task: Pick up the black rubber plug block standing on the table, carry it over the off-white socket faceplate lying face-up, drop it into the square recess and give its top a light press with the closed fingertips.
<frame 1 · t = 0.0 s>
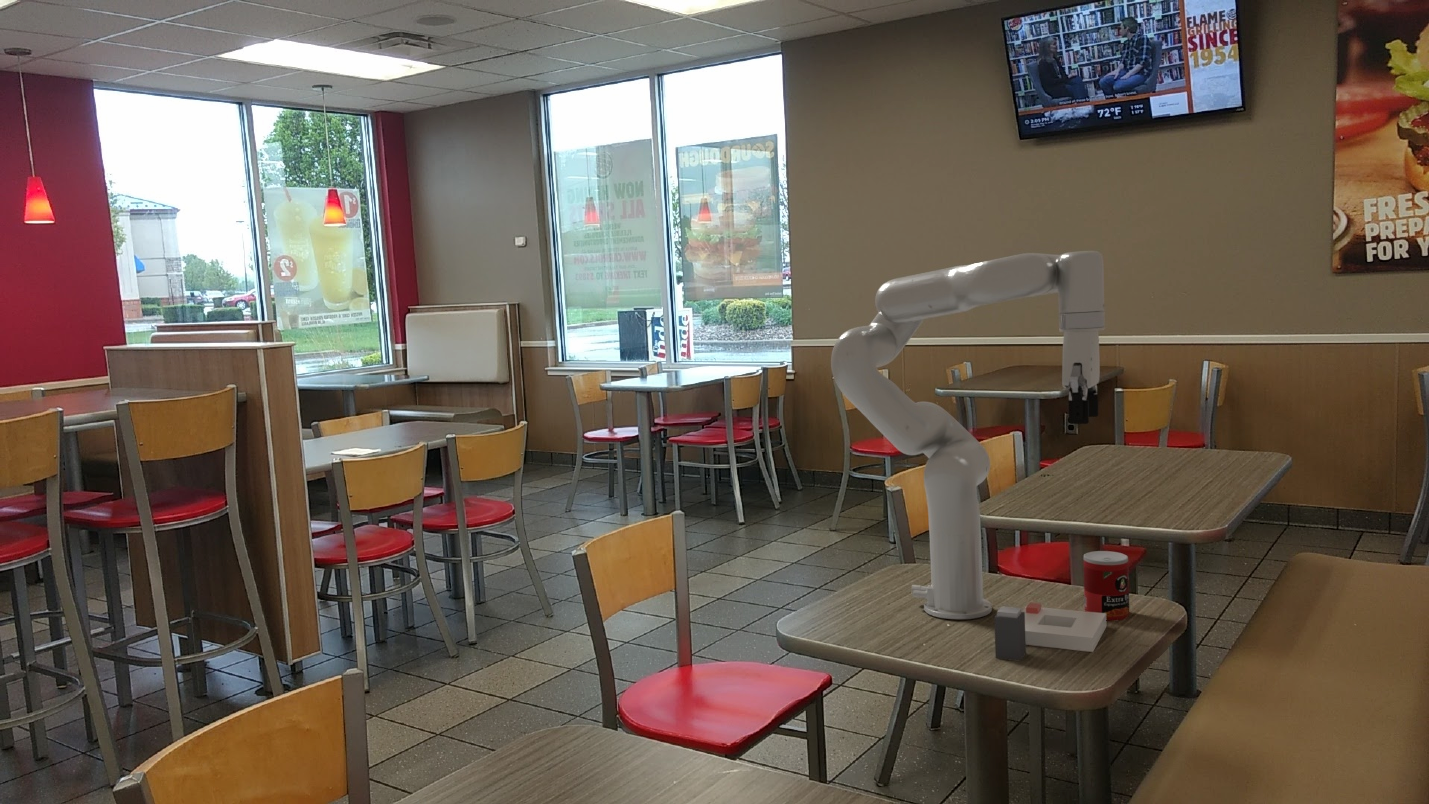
hand: (1084, 419, 182), 37 cm above the table, tool pointing down, fingers open, 9 cm apart
canned food: (1106, 615, 190), on the table
plug: (1010, 655, 172), on the table
socket plate: (1057, 634, 181), on the table
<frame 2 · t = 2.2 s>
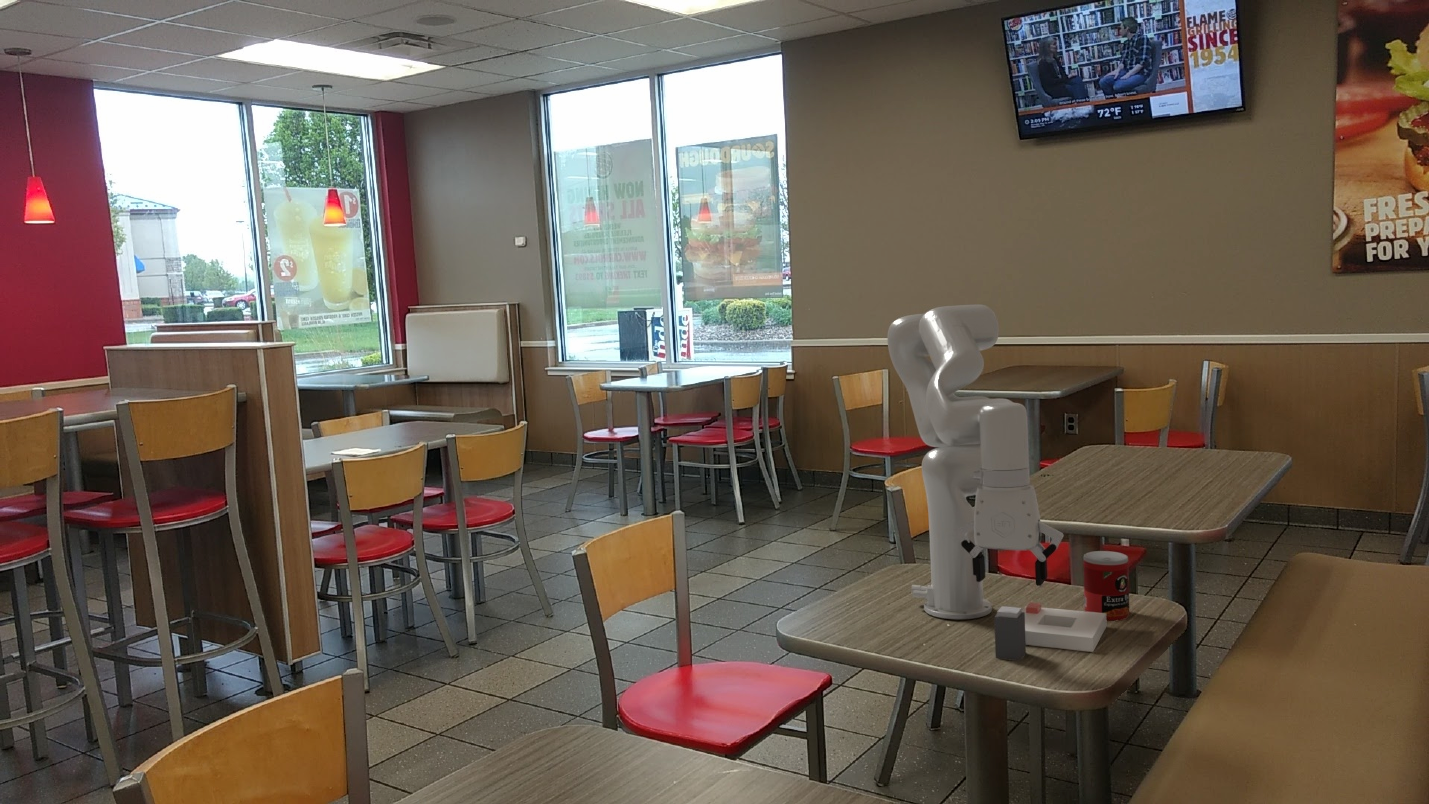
hand: (1010, 581, 170), 13 cm above the table, tool pointing down, fingers open, 9 cm apart
nothing on the table moved.
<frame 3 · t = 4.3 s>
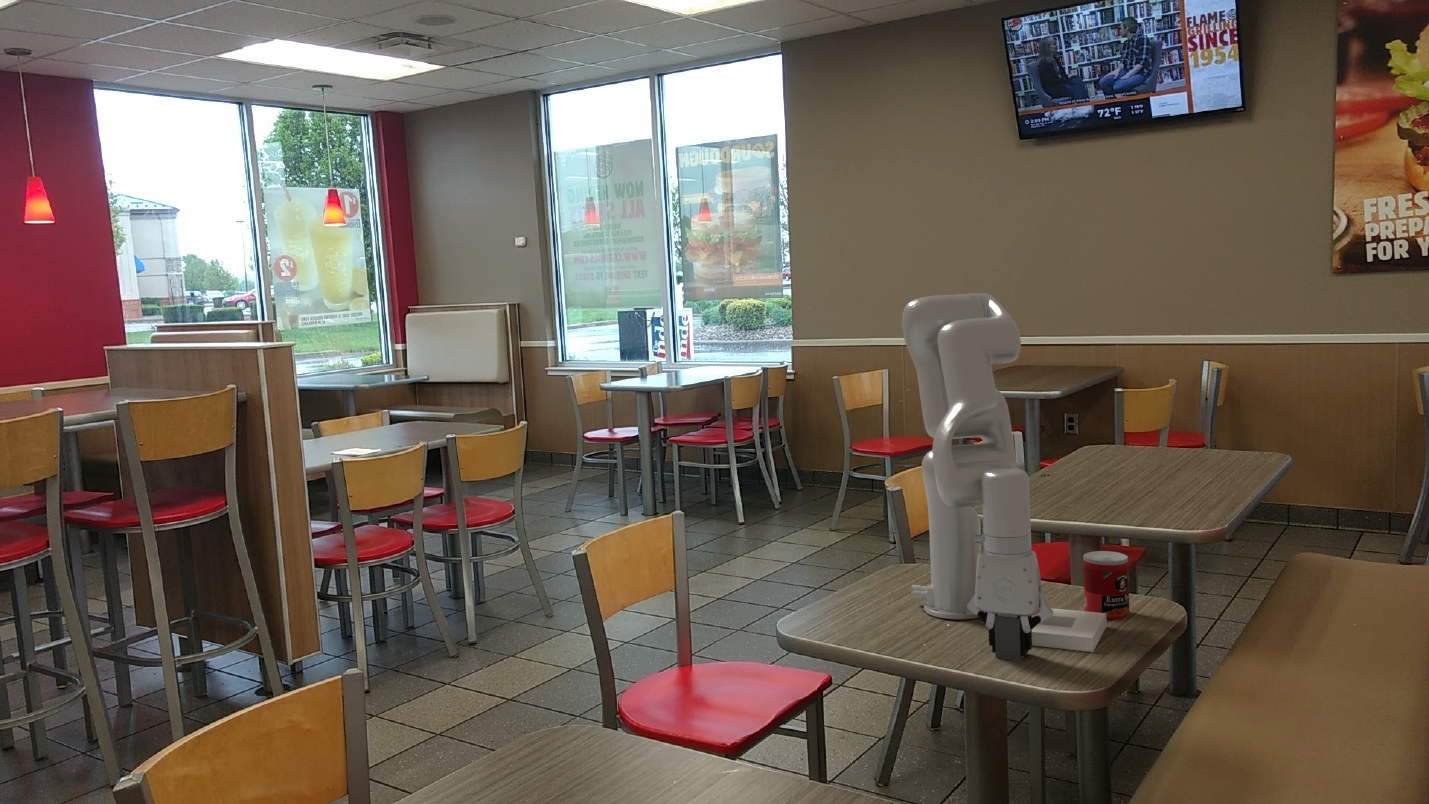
hand: (1010, 650, 172), 1 cm above the table, tool pointing down, fingers closed on plug, 4 cm apart
plug: (1010, 655, 172), on the table, touching gripper
everything else where it was.
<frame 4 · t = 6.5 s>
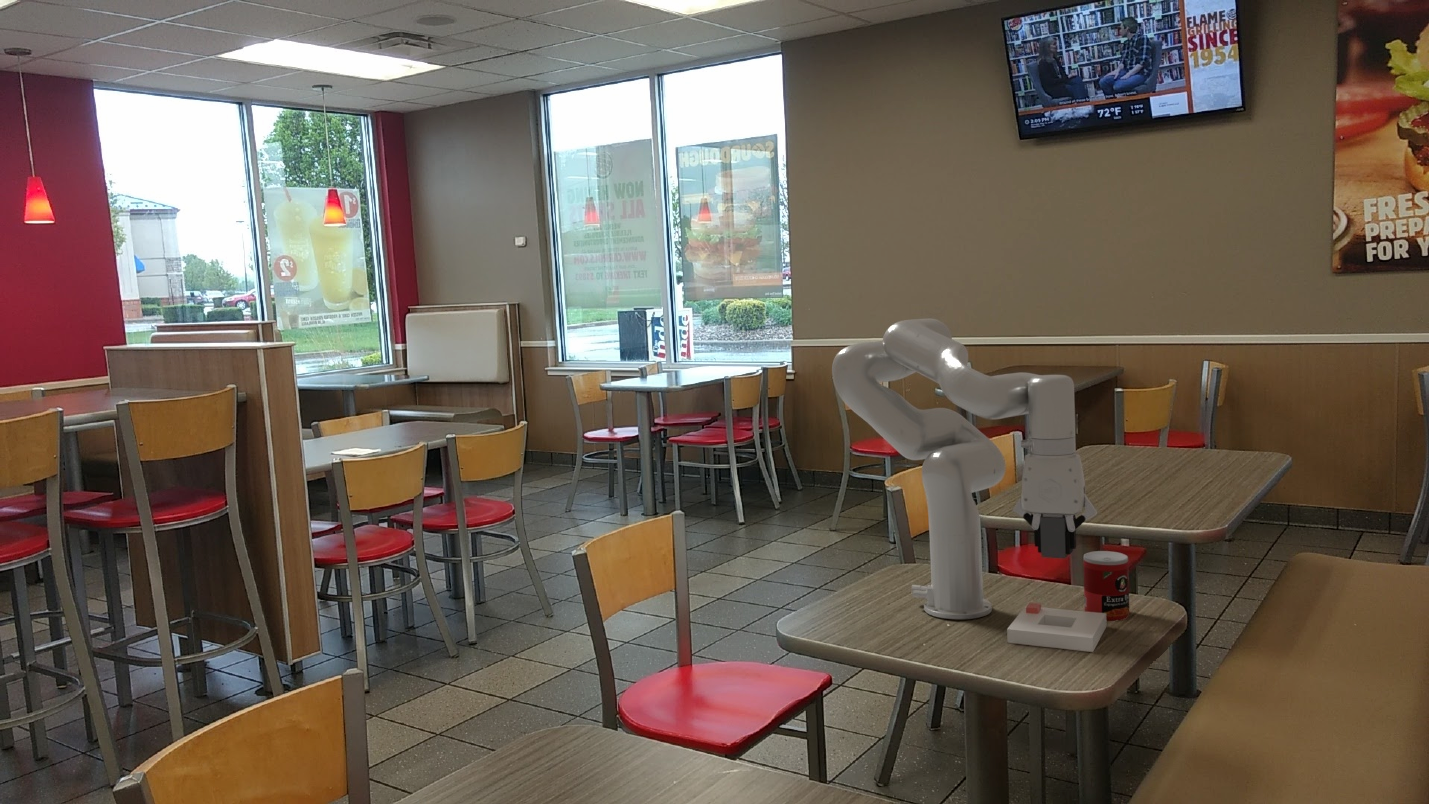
hand: (1055, 550, 179), 15 cm above the table, tool pointing down, fingers closed on plug, 4 cm apart
plug: (1055, 555, 179), point 14 cm above the table, touching gripper
everything else where it was.
when the fingers open (3 cm above the table, at t = 8.9 s): plug drops 2 cm, resting on socket plate.
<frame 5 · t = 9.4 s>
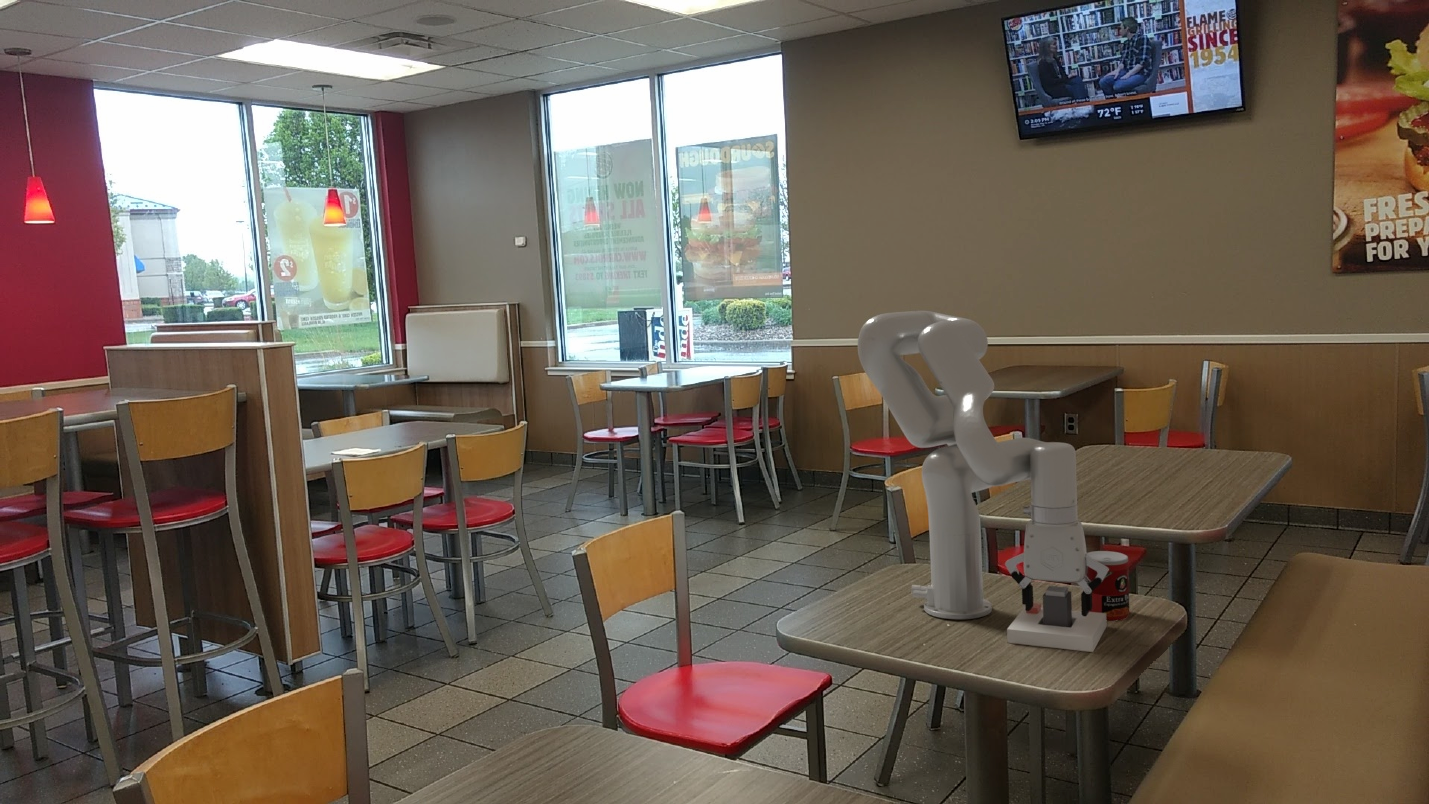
hand: (1057, 611, 180), 4 cm above the table, tool pointing down, fingers open, 9 cm apart
plug: (1058, 632, 181), resting on socket plate
everything else where it was.
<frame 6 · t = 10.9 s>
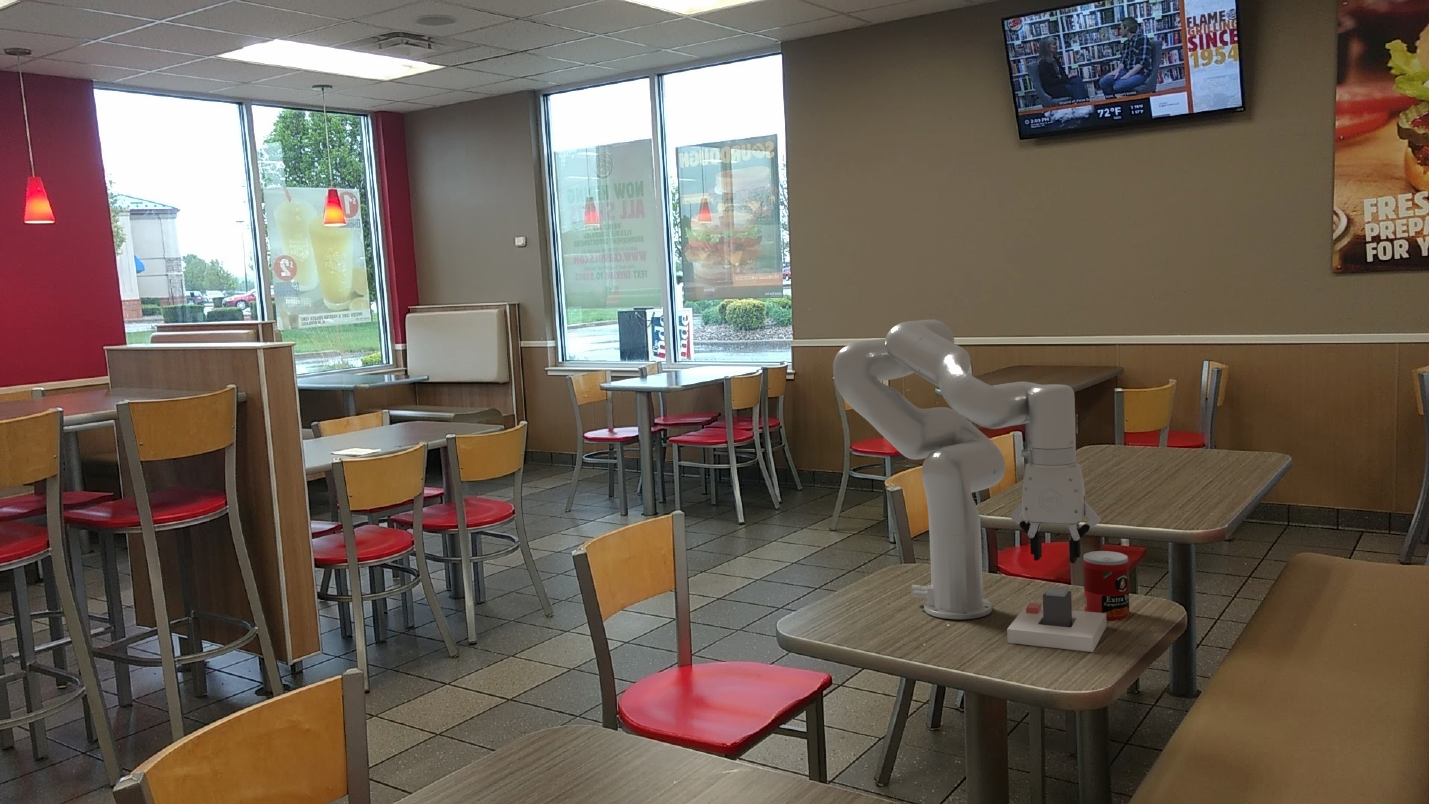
hand: (1055, 559, 180), 13 cm above the table, tool pointing down, fingers open, 5 cm apart
nothing on the table moved.
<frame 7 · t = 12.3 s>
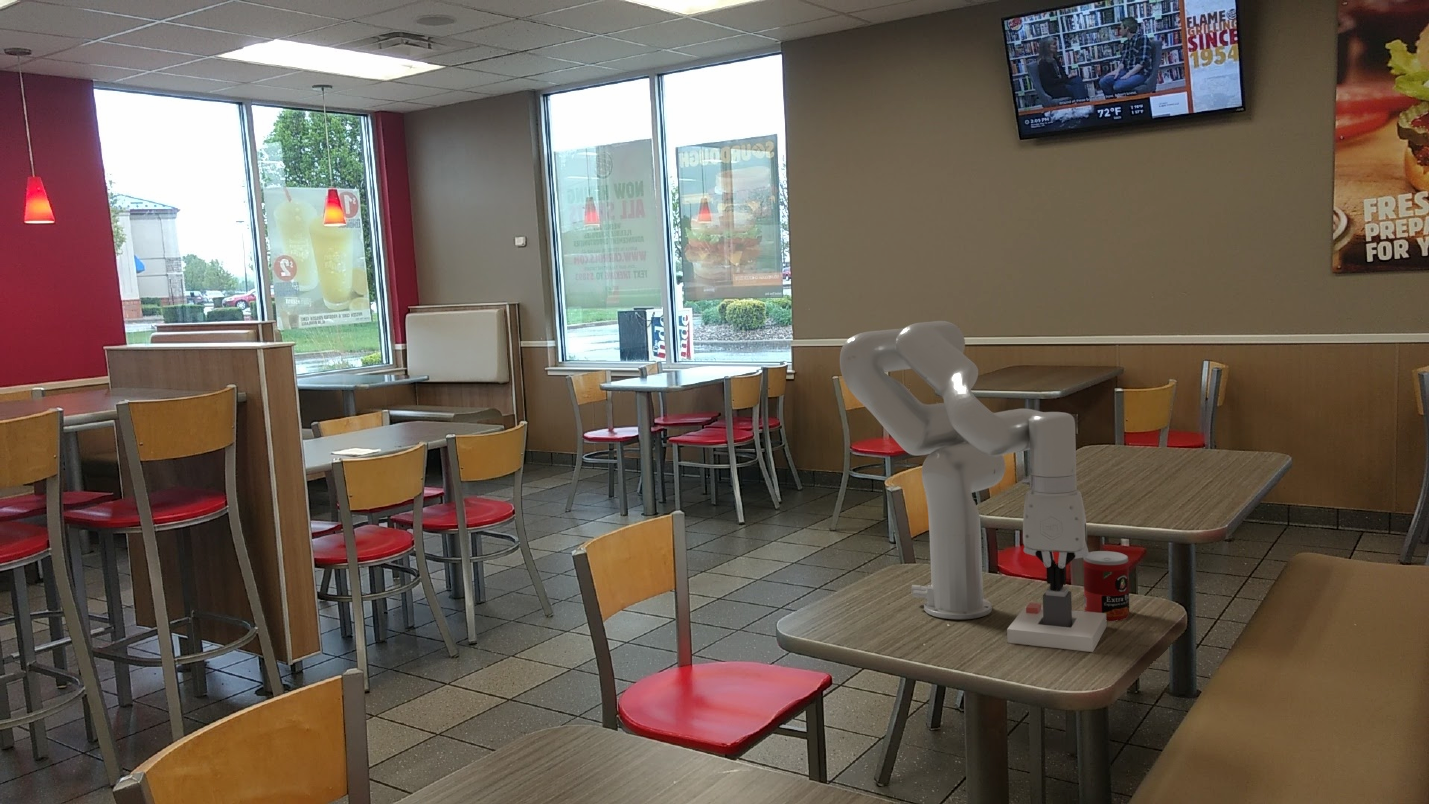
hand: (1056, 588, 180), 8 cm above the table, tool pointing down, fingers closed
nothing on the table moved.
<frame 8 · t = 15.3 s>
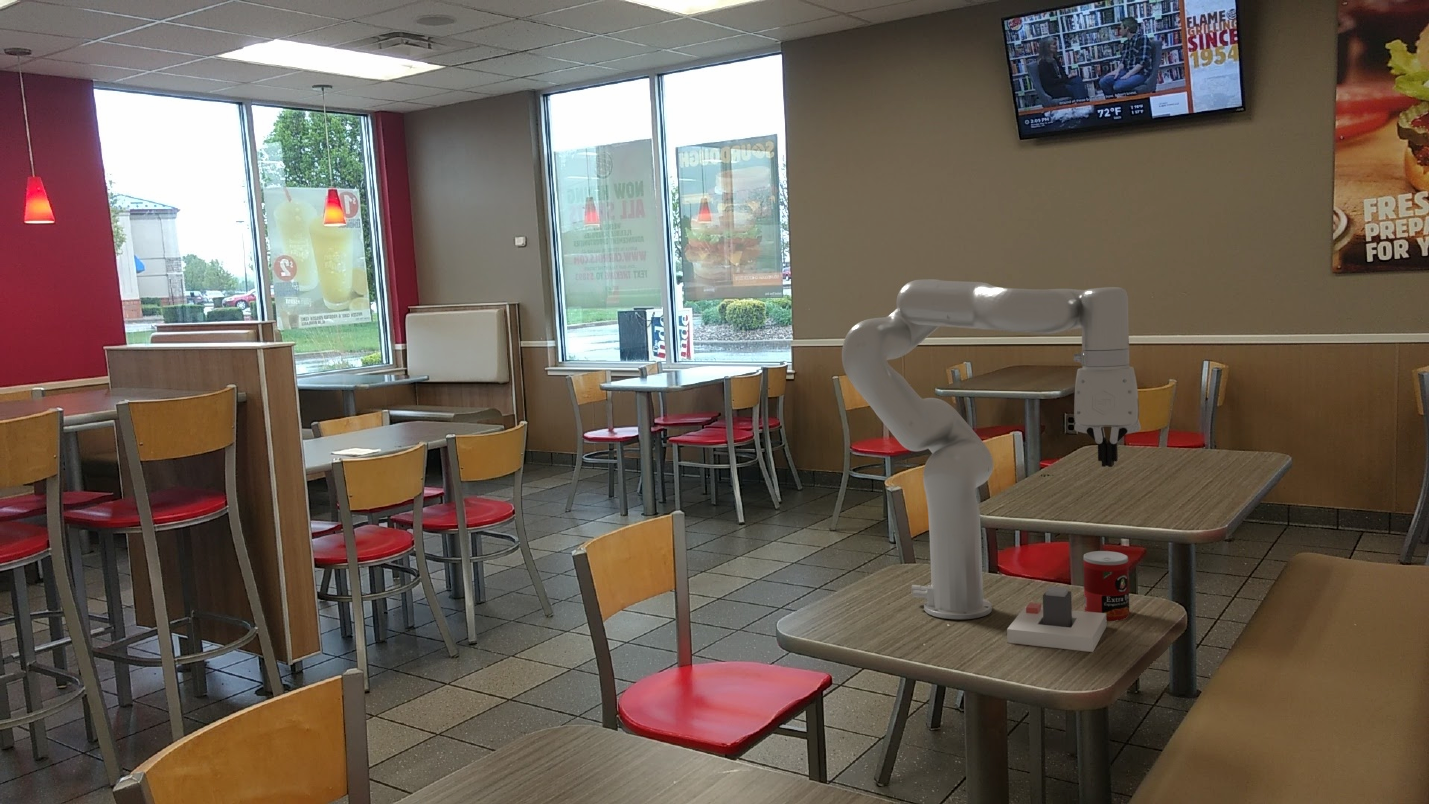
hand: (1108, 465, 179), 29 cm above the table, tool pointing down, fingers closed
nothing on the table moved.
at the end: plug 0.1 cm off-centre on the socket plate, point 0.3 cm above the socket plate's base; plug tilted 0°; the gripper is holding nothing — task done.
